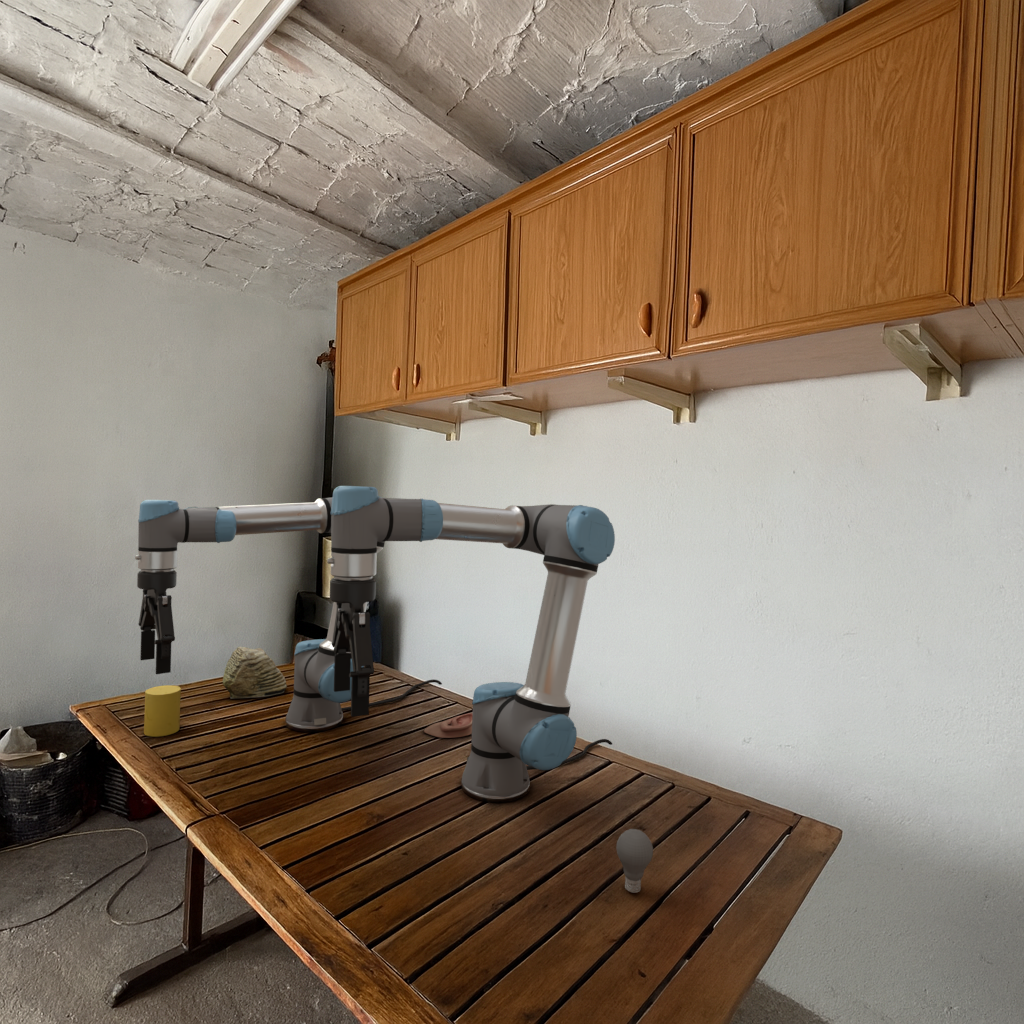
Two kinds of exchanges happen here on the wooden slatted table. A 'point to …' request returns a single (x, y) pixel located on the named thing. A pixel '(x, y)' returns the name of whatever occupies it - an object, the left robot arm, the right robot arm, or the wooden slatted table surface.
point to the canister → (162, 710)
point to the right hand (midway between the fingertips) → (350, 702)
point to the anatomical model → (452, 727)
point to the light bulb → (634, 857)
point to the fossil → (252, 674)
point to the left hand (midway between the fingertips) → (155, 666)
